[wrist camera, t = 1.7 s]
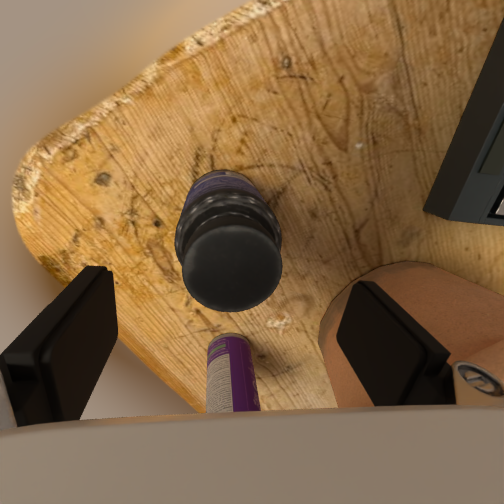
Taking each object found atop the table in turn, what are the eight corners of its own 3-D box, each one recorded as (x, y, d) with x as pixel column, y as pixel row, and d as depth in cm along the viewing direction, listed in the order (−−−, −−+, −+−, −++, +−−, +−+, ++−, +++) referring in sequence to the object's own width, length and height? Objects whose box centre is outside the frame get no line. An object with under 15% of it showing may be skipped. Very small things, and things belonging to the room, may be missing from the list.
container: (258, 349, 29) (296, 536, 16) (225, 370, 30) (235, 566, 17) (232, 325, 27) (250, 515, 14) (198, 348, 28) (185, 550, 15)
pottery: (259, 308, 27) (302, 474, 14) (461, 194, 24) (739, 270, 11) (335, 409, 36) (403, 564, 23) (487, 335, 34) (655, 463, 21)
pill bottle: (170, 194, 21) (132, 255, 11) (235, 153, 20) (257, 177, 10) (214, 252, 23) (215, 343, 14) (272, 217, 23) (318, 286, 13)
